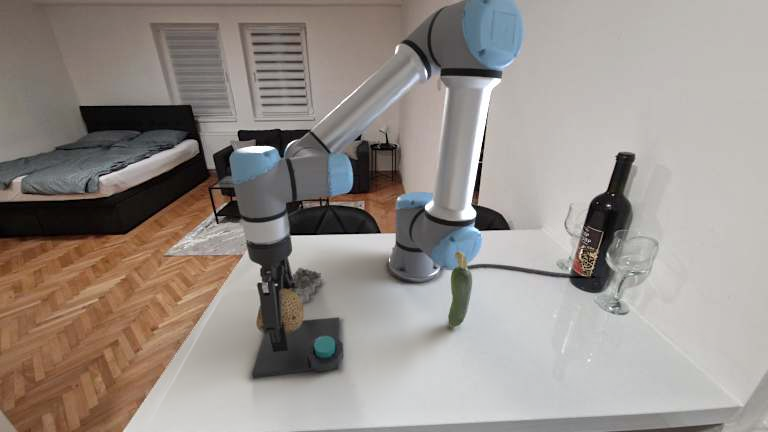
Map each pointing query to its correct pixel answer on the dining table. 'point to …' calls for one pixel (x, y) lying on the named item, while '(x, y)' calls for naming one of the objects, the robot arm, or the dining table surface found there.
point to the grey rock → (305, 283)
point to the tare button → (324, 347)
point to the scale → (300, 351)
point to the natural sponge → (287, 311)
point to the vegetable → (460, 291)
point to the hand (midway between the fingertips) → (285, 330)
